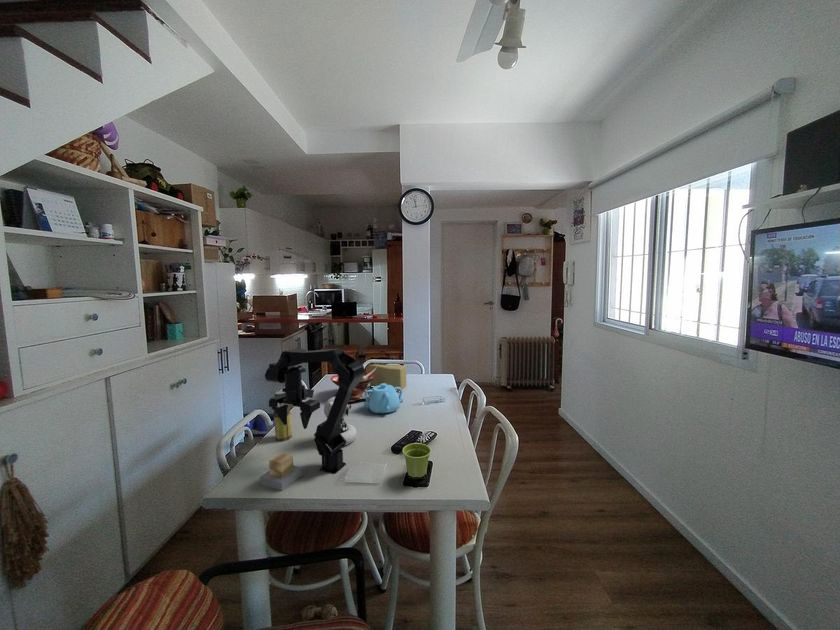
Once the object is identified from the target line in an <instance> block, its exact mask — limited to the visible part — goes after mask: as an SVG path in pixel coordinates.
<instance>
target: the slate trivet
mask: <svg viewBox="0 0 840 630" xmlns="http://www.w3.org/2000/svg"><path fill="white" fill-rule="evenodd" d="M293 469H294V470H292V471H291V472H290V473H288V474H287V475H286V476H284V477H283V478H280V477H276V476H272V475H270V469H268V471H266V472H265V473H263V474H262V475H260V476H259V482H260V483H259V484H260V486H264V487H267V488H272V489H273V490H279V491H281V492H283V491H285V489H286V488H288V487H289V486H291V485H292V484H293V483H294V482H295V481H297V480H298V479H300V478H301V477H303V475H304V472H303V471H304V469H303V467H302V466H301V467H300V466H297V465H294V464H293Z"/></svg>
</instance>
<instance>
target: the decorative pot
mask: <svg viewBox="0 0 840 630" xmlns="http://www.w3.org/2000/svg"><path fill="white" fill-rule="evenodd" d="M395 389H399V390H400V392H399V394H398V392H396V390H395ZM368 392H370V395H369V394H367V393H368ZM363 394H364V395H363V397H364V398H365V399H366V400H365V402H364V403H363V406H364V408H369V409H370V411H371V412H372V413H375V414H378V413H380V414H388V413H393V412H396V411H397V410H398V409H399V407H400V404H403V402H404V398H402V395H403V392H402V389H401V388H400V387H395V388H394V387H393V386H392V385H387V384H386V383H382V384H380V385H379V386H374V387H373V388H371V389H370V390H367V389H366V390H365V391H364V393H363ZM367 395H368V396H369V398H368V399H367V397H368V396H367Z"/></svg>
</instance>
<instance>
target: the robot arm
mask: <svg viewBox="0 0 840 630" xmlns="http://www.w3.org/2000/svg"><path fill="white" fill-rule="evenodd" d="M325 362H329V363H330V364H331V367H332V369H333V372H334V373H335V374H336V375H338V383H339V386H338V388H337V390H336V393H337V394H336V393H335V394H336V396H335V395H334V396H335V399H334V402H333V404H332V407H331V410H330V412H329V415H328V417H326V420H324V421H323V422H321V423H320V424H318V425H317V426H316V430H315V433H314V434H313V436H314V439H313V441H314V443H315V447H316V450H317V453H318V455H319V456H321V467H319V471H320V472H324V473H325V472H326V473H329V474H333V475H336V474H337V473H338V472H339V471H340V470H342V469H343V468H344V467H345V466H346V465H347V463H346V462H344V455H343V454H344V452H343V451H344V449H342V448H344V447H345V446H347V445H346V440H345V439H344V437H343V436H342V435H341V434H340V432H341V427H340V422H341V420H342V417H343V414H344V412H345V409H346V407H347V405H348V404H349V402H350V401H349V399H350V397H351V394H352V392H353V389H354V388H355V387H356V386H357V385H358V383H359V382H360V381H361V379H362V378H363V376H364V374H365V373H366V368H365V367H364V365H363V364H362V362H360V361H358V360H357V359H356V358H355V357H354V356H351V355H349V354H348V353H346V352H345V351H344V350H343V349H341V348H339V347H337V348H332V349H329V348H328V349H317V350H307V349H304V348H297V347H295V348H291V349H289V350H284V351H282V352H281V354H280V356H279V359H278V361H277V362H272V363H269V364H268V366H269V367H268V368H267V369H266V370H265V374H264V378H265V380H266V381H267V382H269V383H277V384H284V387H283V388H281V391H282V392H285V395H278V396H275V395H274V396H273V397H271V398H269V401H268V407H270V408H271V410H273V412H274V411H275V413H276V414H277V415H278V417H279V418H280V420H281V421H282V423H283V424H284V425H286V424H287V408H288V406H289V407H298V408H299V411H300V412H299V415H300V420H301V424H302V427H303V429H304V430H306V429H307V428H308V426H309V422H310V419H311V416H312V414H313V413H314V412H316V411H317V410H318V409H320V408H321V403H320V401H319V400H318V399H313V397H314V392H315V389H311V388H306V386H305V385H303V384H302V383H303V381H302V374H303V373H306V372H307V369H306V368H304V367H303V366H302V364H307V363H325ZM343 364H344V365H343ZM297 365H298V366H297ZM308 398H310V399H308ZM307 399H308V400H307Z"/></svg>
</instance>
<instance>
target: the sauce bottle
mask: <svg viewBox="0 0 840 630" xmlns="http://www.w3.org/2000/svg"><path fill="white" fill-rule="evenodd" d="M278 395H285V392H282V390H277V391H276V392H274V397H275V396H278ZM291 421H292V420H291V411H290V405H289V406H288V408H287V424H286V425H284V424H283V423H282V421H281V420H280V418H279V417H278V415H277V414H276V413H275V411H274V410H273V423H274V433H275V434H274V435H275V439H276V441H277V442H286V441H289V440H290V439H291V438H292V437H293V435H292V433H293V431H292V422H291Z"/></svg>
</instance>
